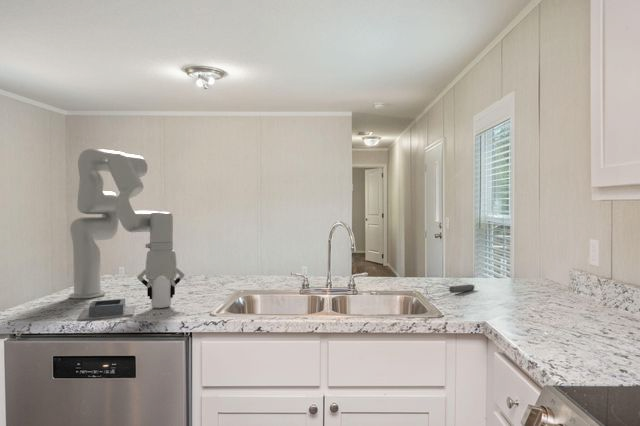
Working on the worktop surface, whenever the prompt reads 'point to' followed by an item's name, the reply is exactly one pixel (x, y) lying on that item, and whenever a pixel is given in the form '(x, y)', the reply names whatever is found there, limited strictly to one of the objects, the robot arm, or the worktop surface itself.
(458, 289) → the kitchen whisk
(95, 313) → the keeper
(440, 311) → the worktop surface
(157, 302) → the can
